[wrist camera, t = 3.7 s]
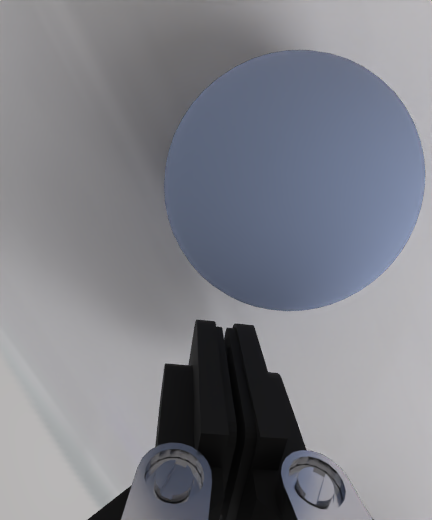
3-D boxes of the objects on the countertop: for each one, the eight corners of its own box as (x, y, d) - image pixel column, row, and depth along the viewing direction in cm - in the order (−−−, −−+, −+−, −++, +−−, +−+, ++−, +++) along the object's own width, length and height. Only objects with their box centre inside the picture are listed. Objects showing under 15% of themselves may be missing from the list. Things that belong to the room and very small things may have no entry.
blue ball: (385, 196, 11) (545, 255, 6) (238, 290, 12) (270, 412, 7) (297, 25, 10) (417, -91, 4) (133, 149, 10) (73, 173, 5)
